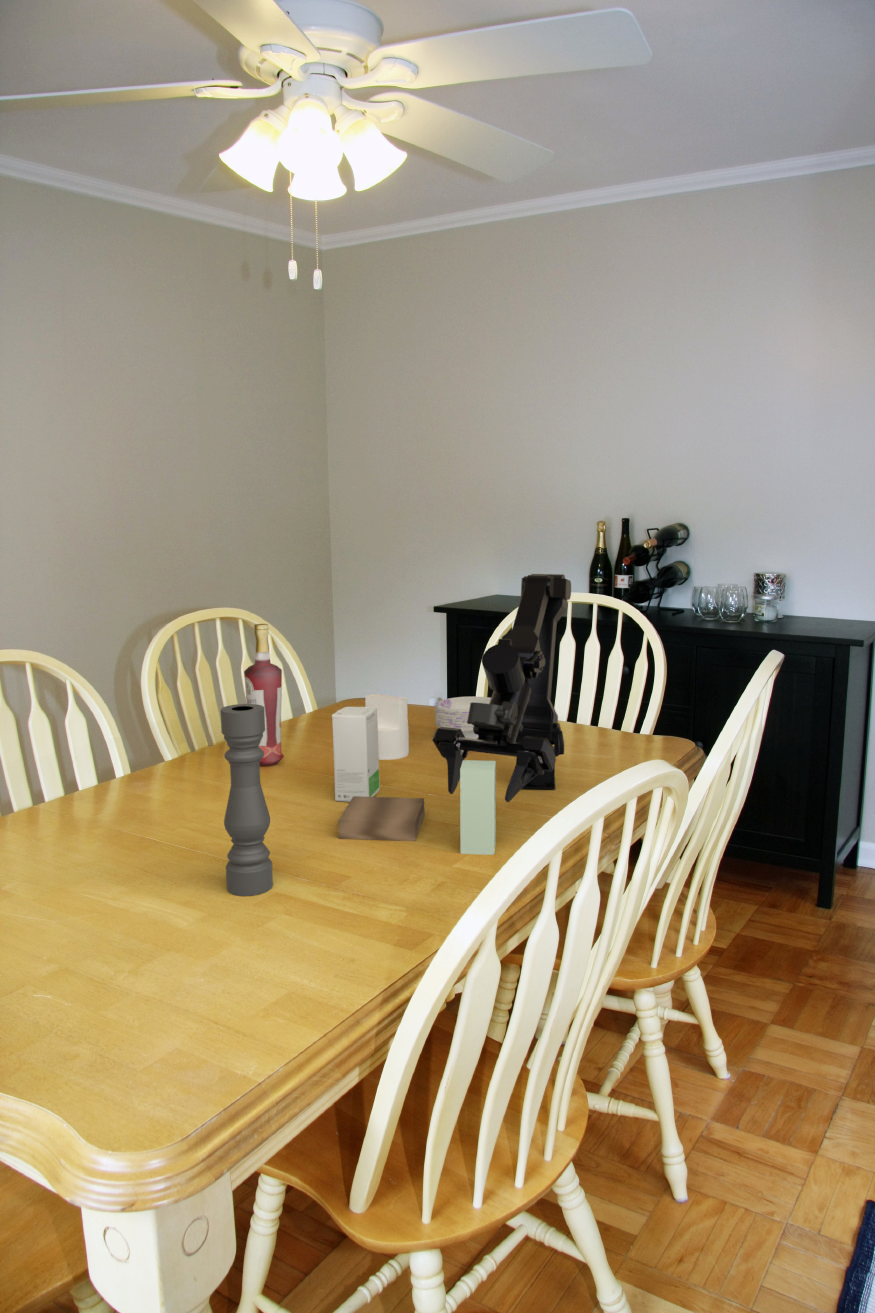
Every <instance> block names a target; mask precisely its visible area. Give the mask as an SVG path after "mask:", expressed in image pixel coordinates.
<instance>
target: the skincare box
mask: <svg viewBox="0 0 875 1313" xmlns="http://www.w3.org/2000/svg"><path fill="white" fill-rule="evenodd" d="M331 718H332V719H331V721H332V722H331V723H332V747H333V750H332V751H333V772H334V774H333V775H334V778H333V780H334V801H336V802H344V803H345V802H347V803H349V802H350V801H351V799H352V797H353V796H362V797H376V795H377V793H378V792H380V790H381V786H380V785H381V784H380V783H381V782H380V781H381V780H380V760H379V750H378V721H377V707H366V706H344V707H343V708H341V709H338V710H336V712H334V713H333V714H331Z"/></svg>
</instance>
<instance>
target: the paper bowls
mask: <svg viewBox="0 0 875 1313" xmlns="http://www.w3.org/2000/svg"><path fill="white" fill-rule="evenodd" d="M490 700H491V697H488V696H457V697H456V696H455V697H450V698H444V699H441V700H439V701H437V702H436V703H435V704H434V717H435V718H434V721H435V727H437V728H440V727H448V728H458V729H461V731H462V732H463V734H464V736H465V738H471V739H478V734H475V733H474V732H473V728H474V725H472V724H468V723H467V720H468V714H469V709H470V703H472V702H475V703H485V704H489V703H490Z"/></svg>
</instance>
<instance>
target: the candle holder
mask: <svg viewBox="0 0 875 1313" xmlns="http://www.w3.org/2000/svg"><path fill="white" fill-rule="evenodd" d="M220 725H221V727H220V728H221V734H222V735H223V740H224V741H225V742H226V743H227V746H228V747H229V749H227V750H226V751H225V753H224V758H225V760H226V761H227V762H228V764H229V766H230V767H229V768H230V770H229V771H230V772H229V773H230V788H229V789H230V790H229V792H228V798H227V799H228V800H227V805H226V810H225V814H224V820H223V826H224V828H225V829H224V830H226V833H227V834H228V836H229V837H230V838H231V843H232V844H233V845H232V846H231V848H230V850H229V851H228V853H227V854H226V855H227V856H226V857H227V859H228V861H227V863H226V865H225V873H226V874H225V876H226V879H225V880H226V890H227V892H228V893H229V894H232V895H233V896H238V897H252V896H258V895H261V894H265V893H267V892H269V891H271V889H273V886H274V877H273V876H274V875H273V861H272V860H271V858H270V855H271V852H270V849H268V847H267V846H266V844H265V843H264V841H265V835H266V834H267V832H268V829H269V827H270V824H271V816H270V812H269V808H268V806H267V803H266V798H265V795H264V791H263V787H262V783H261V768H260V767H261V766H260V764H259V762H260V761H261V759H262V758H263V756H264V751H263V750H262V749H261V748H259V744H260V741H261V739H262V737H263V732H264V731H265V714H264V707H263V706H262V705H257V704H247V703H238V704H231V705H227V706H223V707H221V709H220Z"/></svg>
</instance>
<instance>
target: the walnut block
mask: <svg viewBox="0 0 875 1313" xmlns="http://www.w3.org/2000/svg"><path fill="white" fill-rule="evenodd" d="M424 818H425V797H395V796H390V797H388V796H374V797H362V796H353V797H352V799H351V801H350V802H348V804H347V806H346V807H345V809H344V810H343V812H342V814H341V815H340V817H339V818H338V821H337V822H338V823H337V824H338V840H369V841H371V840H372V841H374V840H375V841H400V842H401V841H402V842H403V841H404V842H405V841H406V842H408V841H409V842H415V841H417V840H416V839H417V837H418V835H419V832H420V829H421V827H422V823H423V821H424Z"/></svg>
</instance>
